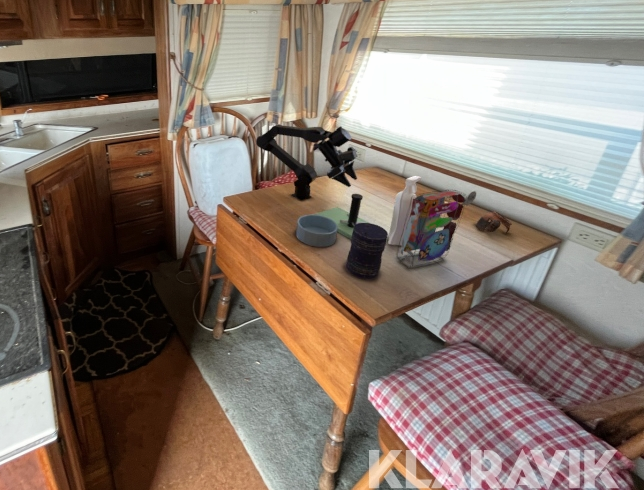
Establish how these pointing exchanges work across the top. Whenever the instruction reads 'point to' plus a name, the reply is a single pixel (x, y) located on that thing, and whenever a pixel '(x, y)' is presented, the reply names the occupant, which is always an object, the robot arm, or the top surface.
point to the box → (432, 224)
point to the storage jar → (366, 250)
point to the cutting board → (336, 216)
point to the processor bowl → (316, 230)
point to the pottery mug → (492, 222)
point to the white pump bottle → (402, 211)
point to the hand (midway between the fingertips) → (353, 182)
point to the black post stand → (353, 211)
